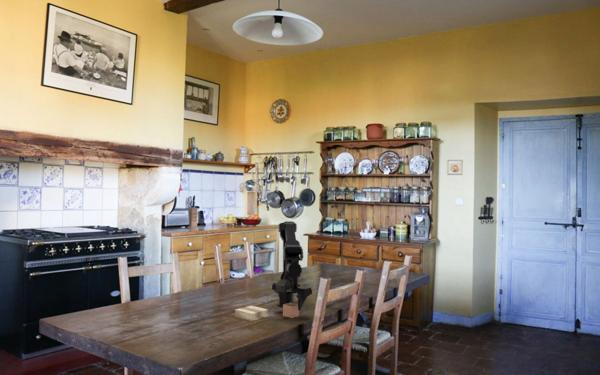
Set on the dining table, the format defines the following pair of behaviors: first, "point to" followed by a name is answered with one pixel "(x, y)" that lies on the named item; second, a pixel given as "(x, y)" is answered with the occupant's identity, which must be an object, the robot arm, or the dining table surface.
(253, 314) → the base
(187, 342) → the dining table surface
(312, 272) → the dining table surface
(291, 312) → the cube
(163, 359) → the dining table surface
